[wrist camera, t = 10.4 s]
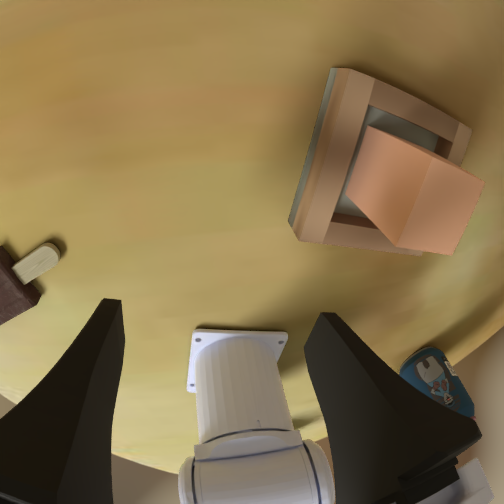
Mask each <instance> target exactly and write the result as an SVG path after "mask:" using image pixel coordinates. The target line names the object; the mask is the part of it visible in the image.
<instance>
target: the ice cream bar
mask: <svg viewBox="0 0 504 504" xmlns="http://www.w3.org/2000/svg"><path fill="white" fill-rule="evenodd" d="M59 259H60V252H59V250H58V248H57V247H56V246H55V245H53V244H51V243H44V244H42V245H41V246H39V247H38V248H36V249H35V250H34V251H32V252H31V253H29V254H28V255H26V256H25V257H24V258H22V259H21V260H19V261H18V262H17V263H15V262H14V260H13V259H12V257H11V256H10V255H9V254H8V253H7V252H6V250H5V249H4V248H3V247H2V246H0V325H1V324H3V323H5V322H7V321H8V320H10V319H12V318H14V317H16V316H17V315H19V314H21V313H23V312H25V311H26V310H28V309H30V308H32V307H34V306H36V305H37V304H38V302H39V299H40V297H41V294H40V293H39V292H38V290H37V289H36V288H35V287H34V285H33V284H32V283H31V282H30V281H31V280H33V279H35V278H36V277H38V276H39V275H41V274H43V273H44V272H46V271H48V270H49V269H51V268H52V267H54V266H56V265H57V263H58V261H59Z"/></svg>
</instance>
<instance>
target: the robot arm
mask: <svg viewBox="0 0 504 504" xmlns="http://www.w3.org/2000/svg"><path fill="white" fill-rule="evenodd" d="M198 338H199V339H198ZM287 340H288V334H287V333H286V332H270V331H235V330H213V329H195V330H194V331H193V334H192V342H191V351H190V360H189V369H188V379H187V391H188V392H193V393H196V405H197V419H198V432H199V445H194V453H195V456H193V457H188V458H186V460H185V462H184V463H183V464H182V465H181V467H180V470H179V477H178V488H179V496H180V503H181V504H334V501H335V493H336V504H488V503H489V502H491V501H492V500H493V499H494V495H493V493H492V490H491V488H490V485H489V483H488V481H487V478H486V476H485V474H484V471H483V469H482V467H481V465H480V463H479V460H478V458H474V459H473V460H471V461H470V462H468V463H467V464H465V465H463V466H462V467H460V468H458V469H457V470H456V468H455V466H454V465H456V464H458V460H457V458H456V456H458V455H459V454H461V453H462V452H463V451H465V450H466V449H468V448H469V447H470V446H472V445H473V444H474V443H476V442H477V441H478V440H479V439H480V438H481V437H482V434H481V432H480V430H479V428H478V426H477V424H476V422H475V420H474V419H472V418H469V417H467V416H464V415H462V414H460V413H457V412H455V411H453V410H451V409H449V408H447V407H445V406H443V405H442V404H440V403H438V402H436V401H435V400H433V399H431V398H430V397H428V396H427V395H425V394H424V393H422V392H421V391H419V390H418V389H416V388H415V387H414V386H412V385H411V384H410V383H408V382H407V381H406V380H405V379H403V378H402V377H401V376H399V375H398V374H397V373H396V372H395V371H394V370H392V369H391V368H390V367H389V366H388V365H387V364H386V363H385V362H384V361H383V360H382V359H380V358H379V357H378V356H377V355H376V354H375V353H374V352H373V351H372V350H371V349H370V348H369V347H368V346H367V345H366V344H365V343H364V342H363V341H362V340H361V339H360V337H359V336H358V335H357V334H356V333H355V332H354V331H353V330H352V329H351V328H350V327H349V326H348V325H347V324H346V323H345V322H344V321H343V320H342V319H341V318H340V317H339V316H338V315H337V314H336V313H328V312H321V313H320V315H319V317H318V319H317V322H316V324H315V326H314V328H313V330H312V332H311V334H310V336H309V338H308V340H307V342H306V344H305V346H304V352H305V358H306V363H307V368H308V372H309V375H310V378H311V381H312V384H313V387H314V390H315V393H316V396H317V399H318V402H319V405H320V408H321V411H322V414H323V417H324V420H325V424H326V428H327V433H328V437H329V442H330V448H331V454H332V460H333V468H334V478H335V489H334V483H333V478H332V474H331V470H330V466H329V463H328V461H327V458H326V456H325V453H324V451H323V450H322V448H321V447H320V446H319V445H318V444H316V443H314V442H313V441H312V440H310V439H307V440H303V441H302V438H301V434H300V431H299V430H294V427H293V423H292V419H291V415H290V412H289V408H288V404H287V400H286V397H285V393H284V389H283V385H282V381H281V378H280V374H279V370H278V366H277V362H278V360H279V357H280V355H281V353H282V351H283V349H284V346H285V344H286V342H287ZM124 346H125V334H124V325H123V315H122V304H121V300H116V299H107V298H104V299H103V300H101V302H100V304H99V305H98V307H97V308H96V310H95V311H94V313H93V314H92V316H91V317H90V319H89V320H88V322H87V323H86V325H85V326H84V328H83V329H82V330H81V332H80V333H79V334H78V336H77V337H76V339H75V340H74V341H73V343H72V344H71V345H70V347H69V348H68V349H67V350H66V352H65V353H64V354H63V356H62V357H61V358H60V359H59V361H58V362H57V363H56V364H55V365H54V367H53V368H52V369H51V370H50V371H49V373H48V374H47V375H46V376H45V377H44V378H43V379H42V380H41V381H40V382H39V384H38V385H37V386H36V387H35V388H34V389H33V390H32V391H31V392H30V393H29V394H28V395H27V396H26V397H25V398H24V399H23V400H22V401H20V402H19V403H18V404H17V405H16V406H15V407H14V408H13V409H11V410H10V411H9V412H8V413H7V414H6V415H5V416H3V417H2V418H1V419H0V504H113V494H112V476H111V435H112V422H113V414H114V408H115V403H116V397H117V392H118V386H119V381H120V376H121V371H122V366H123V356H124ZM335 491H336V492H335Z"/></svg>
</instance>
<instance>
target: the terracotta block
mask: <svg viewBox="0 0 504 504" xmlns="http://www.w3.org/2000/svg"><path fill="white" fill-rule="evenodd" d="M484 185H485V182H484V181H482V180H481V179H479V178H478V177H476V176H474V175H473V174H471V173H469V172H468V171H466V170H464V169H462V168H461V167H459V166H457V165H455V164H454V163H452V162H450V161H448V160H446V159H445V158H443V157H441V156H439V155H437V154H435V153H433V152H431V151H429V150H428V149H426V148H424V147H422V146H419V145H417V144H415V143H412V142H410V141H407V140H405V139H402V138H400V137H397V136H395V135H392V134H390V133H387V132H384V131H382V130H379V129H376V128H373V127H371V126H368V125H367V128H366V131H365V135H364V138H363V141H362V144H361V147H360V150H359V154H358V157H357V160H356V163H355V166H354V169H353V172H352V175H351V178H350V181H349V184H348V186H347V189H346V192H345V195H346V196H347V197H348V198H349V199H350V200H351V201H352V202H353V203H354V204H355V205H356V206H357V207H358V208H359V209H360V210H361V211H362V212H363V213H364V214H365V215H366V216H367V217H368V218H369V219H370V220H371V221H372V222H373V223H374V224H375V225H376V226H377V227H378V228H379V229H380V230H381V232H382V233H383V234H384V235H385V236H386V237H387V238H388V239H389V240H390V241H391V242H392V244H393V245H394V246H395V247H400V248H407V249H413V250H420V251H427V252H433V253H439V254H446V255H452V254H453V252H454V250H455V249H456V247H457V245H458V243H459V241H460V239H461V237H462V235H463V233H464V230H465V228H466V226H467V224H468V222H469V220H470V218H471V215H472V213H473V211H474V209H475V206H476V204H477V202H478V200H479V197H480V195H481V192H482V190H483V187H484Z"/></svg>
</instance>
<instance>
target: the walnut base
mask: <svg viewBox="0 0 504 504" xmlns="http://www.w3.org/2000/svg"><path fill="white" fill-rule="evenodd" d="M367 125H368V126H371V127H373V128H376V129H379V130H382V131H384V132H387V133H390V134H392V135H395V136H397V137H400V138H402V139H405V140H407V141H410V142H412V143H415V144H417V145H419V146H422V147H424V148H426V149H428V150H429V151H431V152H433V153H435V154H437V155H439V156H441V157H443V158H445V159H446V160H448V161H450V162H452V163H454V164H455V165H457V166H459V167H460V166H461V163H462V160H463V157H464V154H465V152H466V149H467V146H468V143H469V140H470V136H471V133H472V129H470V128H468V127H467V126H465V125H464V124H462V123H461V122H459V121H457V120H456V119H454V118H452V117H451V116H449V115H447V114H445V113H444V112H442V111H440V110H438V109H437V108H435V107H433V106H431V105H429V104H427V103H426V102H424V101H422V100H420V99H418V98H416V97H414V96H412V95H410V94H408V93H406V92H404V91H402V90H400V89H398V88H395V87H393V86H391V85H389V84H387V83H384V82H382V81H380V80H377V79H375V78H373V77H370V76H368V75H365V74H363V73H360V72H358V71H355V70H353V69H348V68H331V69H330V73H329V77H328V80H327V84H326V88H325V92H324V95H323V99H322V103H321V107H320V110H319V114H318V118H317V121H316V125H315V128H314V132H313V136H312V139H311V143H310V146H309V150H308V153H307V157H306V161H305V164H304V168H303V171H302V174H301V178H300V181H299V185H298V188H297V192H296V195H295V199H294V202H293V205H292V209H291V212H290V215H289V219H288V222H289V224H290V226H291V227H292V229H293V231H294V233H295V235H296V237H297V239H298V240H299V241H302V242H310V243H319V244H327V245H336V246H344V247H352V248H360V249H368V250H376V251H384V252H392V253H400V254H407V255H415V256H421V255H422V253H423V251H420V250H413V249H407V248H400V247H395V246H394V245H393V244H392V242H391V241H390V240H389V239H388V238H387V237H386V236H385V235H384V234H383V233H382V232H381V230H380V229H379V228H378V227H377V226H376V225H375V224H374V223H373V222H372V221H371V220H370V219H369V218H368V217H367V216H366V215H365V214H364V213H363V212H362V211H361V210H360V209H359V208H358V207H357V206H356V205H355V204H354V203H353V202H352V201H351V200H350V199H349V198H348V197H347V196H346V195H345V192H346V189H347V186H348V184H349V181H350V178H351V175H352V172H353V169H354V166H355V163H356V160H357V157H358V154H359V150H360V147H361V144H362V141H363V138H364V135H365V131H366V128H367Z"/></svg>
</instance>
